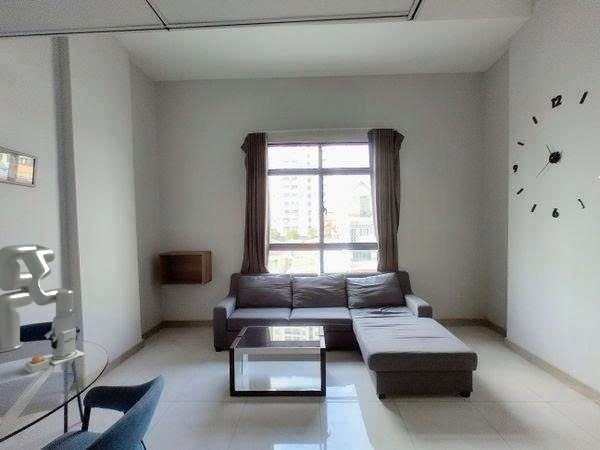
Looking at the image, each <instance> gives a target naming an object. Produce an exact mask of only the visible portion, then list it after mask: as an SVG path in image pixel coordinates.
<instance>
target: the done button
mask: <svg viewBox="0 0 600 450" xmlns="http://www.w3.org/2000/svg"><path fill="white" fill-rule="evenodd" d="M43 357H44V356H43V355H36V356H34V357H31V361H32V364H37V363H40V362H43Z"/></svg>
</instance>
